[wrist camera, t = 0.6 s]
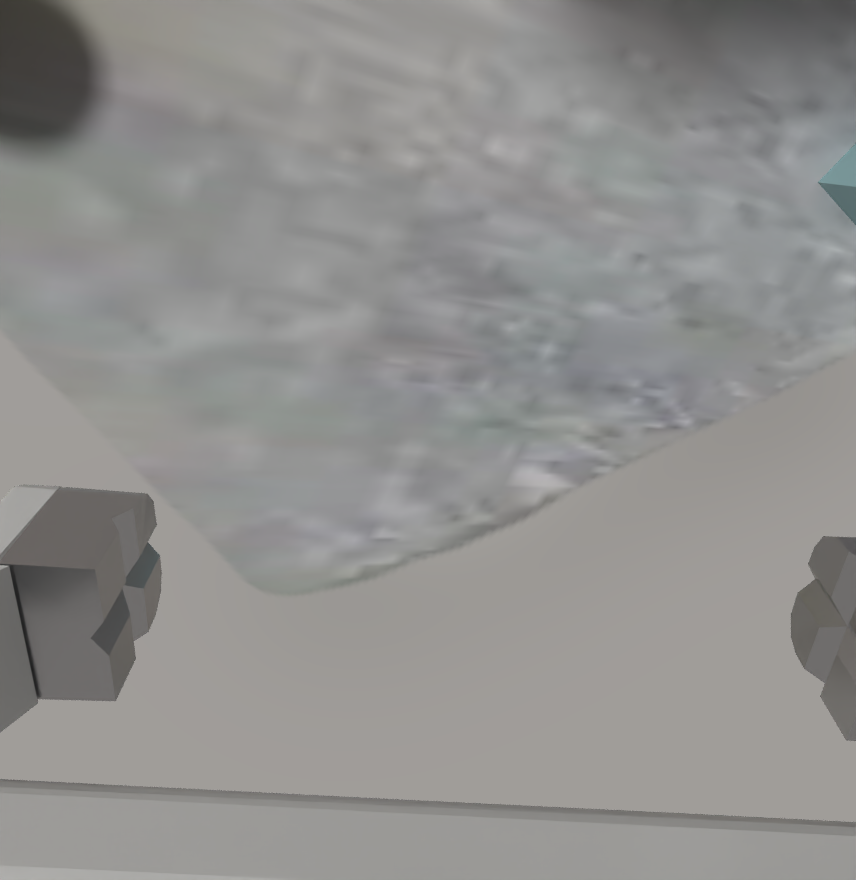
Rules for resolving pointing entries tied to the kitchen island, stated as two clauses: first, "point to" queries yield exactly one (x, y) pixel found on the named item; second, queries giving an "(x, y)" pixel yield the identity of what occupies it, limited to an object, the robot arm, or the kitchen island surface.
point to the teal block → (843, 183)
